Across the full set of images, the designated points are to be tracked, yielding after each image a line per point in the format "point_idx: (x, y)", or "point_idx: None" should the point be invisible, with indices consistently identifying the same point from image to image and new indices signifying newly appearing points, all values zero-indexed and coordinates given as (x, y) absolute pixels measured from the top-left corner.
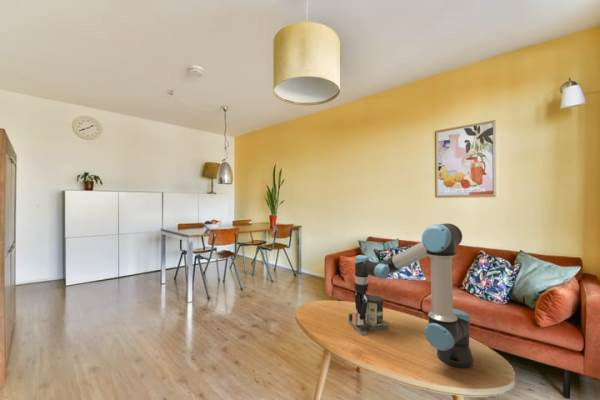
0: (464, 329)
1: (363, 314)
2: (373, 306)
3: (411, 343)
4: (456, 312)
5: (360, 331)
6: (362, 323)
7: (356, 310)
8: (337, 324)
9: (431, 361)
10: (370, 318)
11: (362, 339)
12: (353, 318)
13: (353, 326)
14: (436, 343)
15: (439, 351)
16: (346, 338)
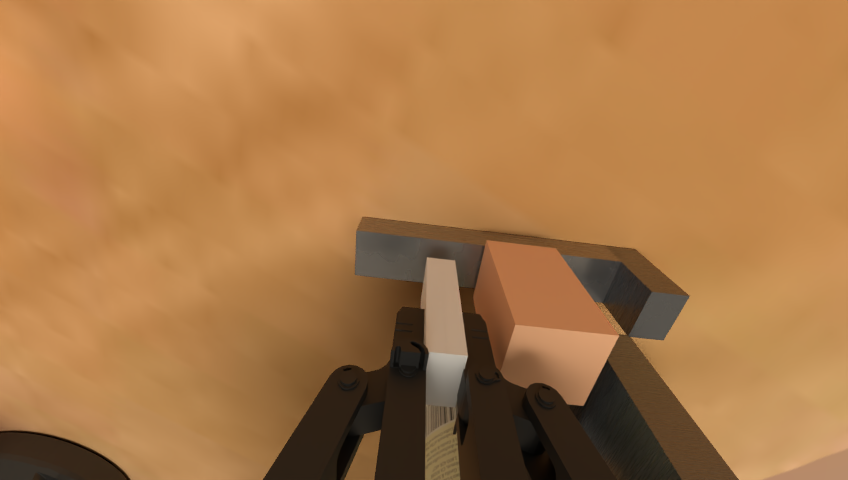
0: None
1: (600, 402)
2: None
3: (206, 421)
4: None
5: (389, 230)
6: (421, 300)
7: (593, 382)
8: (663, 115)
9: (12, 395)
10: (457, 405)
11: (302, 184)
12: (547, 275)
13: (531, 238)
14: None
15: (10, 475)
16: (355, 35)
